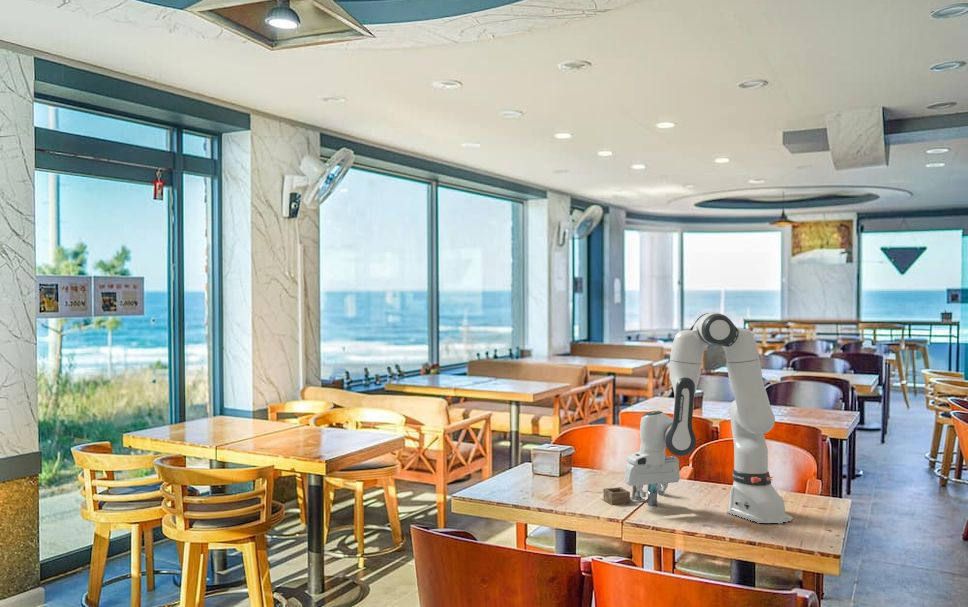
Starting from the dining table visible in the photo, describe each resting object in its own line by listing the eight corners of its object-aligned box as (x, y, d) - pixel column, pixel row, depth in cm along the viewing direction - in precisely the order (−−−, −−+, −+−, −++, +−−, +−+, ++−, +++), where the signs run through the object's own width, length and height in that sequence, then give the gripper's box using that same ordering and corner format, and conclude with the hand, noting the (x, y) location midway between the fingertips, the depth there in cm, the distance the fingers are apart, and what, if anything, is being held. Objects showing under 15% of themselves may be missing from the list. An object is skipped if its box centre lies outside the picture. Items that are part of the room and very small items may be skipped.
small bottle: (658, 508, 266) (658, 480, 266) (650, 509, 265) (650, 481, 265) (654, 506, 269) (654, 478, 269) (646, 507, 268) (646, 479, 268)
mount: (649, 504, 271) (649, 490, 271) (611, 508, 267) (611, 494, 267) (638, 499, 279) (638, 485, 279) (601, 502, 275) (601, 488, 275)
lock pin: (643, 499, 273) (643, 469, 273) (634, 500, 272) (635, 470, 272) (638, 497, 276) (639, 467, 276) (630, 497, 275) (630, 467, 275)
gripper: (674, 453, 273) (673, 491, 273) (622, 457, 267) (622, 496, 267) (683, 457, 267) (683, 496, 267) (630, 460, 261) (630, 500, 261)
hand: (652, 496), depth 267 cm, fingers open, 6 cm apart
